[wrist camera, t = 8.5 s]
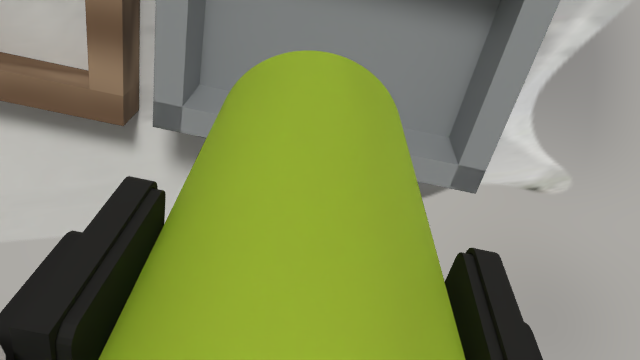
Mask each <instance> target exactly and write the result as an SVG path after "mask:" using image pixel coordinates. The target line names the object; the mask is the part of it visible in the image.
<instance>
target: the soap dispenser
mask: <svg viewBox="0 0 640 360" xmlns="http://www.w3.org/2000/svg"><path fill="white" fill-rule="evenodd" d="M98 360H466V359H465V356H464V352H463V348H462V345H461V341H460V337H459V333H458V330H457V326H456V322H455V319H454V315H453V311H452V308H451V304H450V300H449V297H448V293H447V289H446V286H445V282H444V278H443V275H442V271H441V267H440V264H439V260H438V256H437V252H436V249H435V245H434V241H433V238H432V234H431V231H430V227H429V223H428V219H427V216H426V212H425V209H424V205H423V201H422V197H421V194H420V190H419V186H418V182H417V179H416V175H415V171H414V168H413V164H412V160H411V157H410V153H409V149H408V146H407V142H406V138H405V135H404V131H403V127H402V124H401V120H400V116H399V113H398V110H397V107H396V105H395V103H394V100H393V99H392V97H391V95H390V93H389V92H388V90H387V89H386V88H385V86H384V85H383V84H382V83H381V82H380V81H379V79H378V78H376V77H375V76H374V75H373V74H372V73H371V72H370V71H368V70H367V69H366V68H364V67H363V66H361V65H359V64H358V63H356V62H354V61H352V60H350V59H348V58H345V57H343V56H340V55H336V54H333V53H328V52H322V51H309V50H308V51H294V52H288V53H284V54H280V55H277V56H274V57H271V58H269V59H267V60H265V61H263V62H261V63H259V64H257V65H256V66H254V67H253V68H251V69H250V70H249V71H247V72H246V73H245V74H244V75H243V76H242V77H241V78H240V79H239V80H238V81H237V82H236V84H235V85H234V86H233V88H232V89H231V90H230V92H229V94H228V95H227V97H226V99H225V101H224V103H223V105H222V107H221V110H220V112H219V114H218V116H217V118H216V120H215V122H214V124H213V126H212V128H211V130H210V132H209V134H208V136H207V138H206V140H205V142H204V144H203V146H202V148H201V150H200V153H199V155H198V157H197V159H196V161H195V163H194V165H193V167H192V169H191V171H190V173H189V175H188V177H187V179H186V181H185V183H184V185H183V187H182V189H181V191H180V193H179V196H178V198H177V200H176V202H175V204H174V206H173V208H172V210H171V212H170V214H169V216H168V218H167V220H166V222H165V224H164V226H163V228H162V230H161V232H160V234H159V237H158V239H157V241H156V243H155V245H154V247H153V249H152V251H151V253H150V255H149V257H148V259H147V261H146V263H145V265H144V267H143V269H142V271H141V273H140V275H139V277H138V280H137V282H136V284H135V286H134V288H133V290H132V292H131V294H130V296H129V298H128V300H127V302H126V304H125V306H124V308H123V310H122V312H121V314H120V316H119V318H118V320H117V323H116V325H115V327H114V329H113V331H112V333H111V335H110V337H109V339H108V341H107V343H106V345H105V347H104V349H103V351H102V353H101V355H100V357H99V359H98Z"/></svg>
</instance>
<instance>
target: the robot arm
mask: <svg viewBox="0 0 640 360" xmlns="http://www.w3.org/2000/svg"><path fill="white" fill-rule="evenodd" d="M164 216H165V191H163V190H158V189H157V183H156V182H154V181H149V180H144V179H140V178H135V177H130V176H129V177H126V178H125V179H124V180H123V182H122V183H121V184H120V185H119V187H118V188H117V189H116V191H115V192H114V193H113V194H112V196H111V197H110V198H109V200H108V201H107V202H106V203H105V205H104V206H103V207H102V208H101V210H100V211H99V212H98V214H97V215H96V216H95V217H94V219H93V220H92V221H91V223H90V224H89V225H88V226H87V228H86V229H85V230H84V231H83V233H82V232H77V231H71V232H68V233H67V234H66V235H65V236H64V237H63V238H62V239H61V240H60V241H59V243H58V244H57V245H56V246H55V248H54V249H53V250H52V251H51V252H50V254H49V255H48V256H47V257H46V258H45V260H44V261H43V262H42V263H41V264H40V266H39V267H38V268H37V269H36V270H35V272H34V273H33V274H32V275H31V276H30V278H29V279H28V280H27V281H26V282H25V284H24V285H23V286H22V287H21V289H20V290H19V291H18V292H17V293H16V295H15V296H14V297H13V298H12V299H11V301H10V302H9V303H8V304H7V305H6V307H5V308H4V309H3V310H2V312H1V313H0V360H98V359H99V357H100V355H101V353H102V351H103V349H104V347H105V345H106V343H107V341H108V339H109V337H110V335H111V333H112V331H113V329H114V327H115V325H116V323H117V320H118V318H119V316H120V314H121V312H122V310H123V308H124V306H125V304H126V302H127V300H128V298H129V296H130V294H131V292H132V290H133V288H134V286H135V284H136V282H137V280H138V277H139V275H140V273H141V271H142V269H143V267H144V265H145V263H146V261H147V259H148V257H149V255H150V253H151V251H152V249H153V247H154V245H155V243H156V241H157V239H158V237H159V234H160V232H161V230H162V228H163V226H164ZM445 286H446V289H447V293H448V297H449V300H450V304H451V308H452V311H453V315H454V319H455V322H456V326H457V330H458V333H459V337H460V341H461V345H462V348H463V352H464V356H465V359H466V360H543V359H542V356H541V353H540V351H539V348H538V345H537V342H536V340H535V337H534V334H533V332H532V330H531V328H530V327H529V325H528V324H526V323H525V322H524V321H523V318H522V316H521V313H520V310H519V307H518V305H517V302H516V299H515V296H514V294H513V291H512V288H511V286H510V283H509V280H508V277H507V275H506V272H505V269H504V266H503V263H502V261H501V258H500V256H499V255H498V254H497V253H495V252H489V251H485V250H480V249H475V248H469V249H468V250H467V252H466V253H459V254H458V255H457V256H456V258H455V260H454V263H453V265H452V267H451V269H450V271H449V274H448V276H447V278H446V280H445Z"/></svg>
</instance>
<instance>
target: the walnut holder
mask: <svg viewBox="0 0 640 360" xmlns="http://www.w3.org/2000/svg"><path fill="white" fill-rule="evenodd" d="M85 6H86V26H87V46H88V66H89V71H87V70H82V69H78V68H73V67H68V66H63V65H59V64H54V63H49V62H45V61H40V60H35V59H30V58H26V57H21V56H16V55H11V54H7V53H2V52H0V101H5V102H10V103H15V104H19V105H24V106H29V107H34V108H39V109H44V110H48V111H53V112H58V113H63V114H68V115H73V116H77V117H82V118H87V119H92V120H97V121H102V122H106V123H111V124H116V125H121V126H124V125H125V124H126V123H127V122H128V121H129V120H130V119H131V118H132V117H133V116H134V114H135V113H136V112H137V111H138V110H139V11H140V0H85Z"/></svg>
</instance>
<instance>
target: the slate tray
mask: <svg viewBox="0 0 640 360" xmlns="http://www.w3.org/2000/svg"><path fill="white" fill-rule="evenodd" d="M559 2H560V0H156V14H155V58H154V102H153V127H157V128H161V129H166V130H171V131H176V132H181V133H186V134H190V135H195V136H200V137H205V138H207V136H208V134H209V132H210V130H211V128H212V126H213V124H214V122H215V120H216V118H217V116H218V114H219V112H220V110H221V107H222V105H223V103H224V101H225V99H226V97H227V95H228V94H229V92H230V90H231V89H232V88H233V86H234V85H235V84H236V82H237V81H238V80H239V79H240V78H241V77H242V76H243V75H244V74H245V73H246V72H247V71H249V70H250V69H251V68H253V67H254V66H256V65H257V64H259V63H261V62H263V61H265V60H267V59H269V58H271V57H274V56H277V55H280V54H284V53H288V52H294V51H308V50H309V51H322V52H328V53H333V54H336V55H340V56H343V57H345V58H348V59H350V60H352V61H354V62H356V63H358V64H359V65H361V66H363V67H364V68H366V69H367V70H368V71H370V72H371V73H372V74H373V75H374V76H375V77H376V78H378V79H379V81H380V82H381V83H382V84H383V85H384V86H385V88H386V89H387V90H388V92H389V93H390V95H391V97H392V99H393V100H394V103H395V105H396V107H397V110H398V113H399V116H400V120H401V124H402V127H403V131H404V135H405V138H406V142H407V146H408V149H409V153H410V157H411V160H412V164H413V168H414V171H415V175H416V179H417V182H422V183H426V184H431V185H436V186H441V187H446V188H451V189H455V190H460V191H465V192H470V193H476V192H477V189H478V187H479V185H480V183H481V180H482V178H483V176H484V173H485V171H486V169H487V167H488V164H489V162H490V160H491V157H492V155H493V153H494V151H495V148H496V146H497V144H498V141H499V139H500V137H501V135H502V132H503V130H504V128H505V125H506V123H507V121H508V119H509V116H510V114H511V112H512V109H513V107H514V105H515V103H516V100H517V98H518V96H519V93H520V91H521V89H522V86H523V84H524V82H525V80H526V77H527V75H528V73H529V70H530V68H531V66H532V64H533V61H534V59H535V57H536V54H537V52H538V50H539V48H540V45H541V43H542V41H543V38H544V36H545V34H546V32H547V29H548V27H549V25H550V22H551V20H552V18H553V16H554V13H555V11H556V9H557V6H558V4H559Z"/></svg>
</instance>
